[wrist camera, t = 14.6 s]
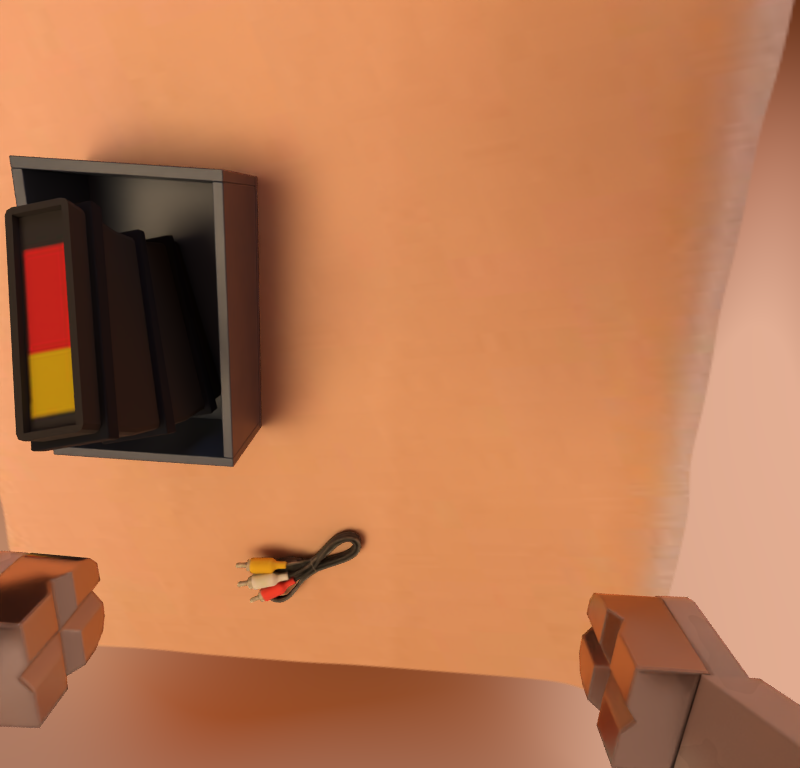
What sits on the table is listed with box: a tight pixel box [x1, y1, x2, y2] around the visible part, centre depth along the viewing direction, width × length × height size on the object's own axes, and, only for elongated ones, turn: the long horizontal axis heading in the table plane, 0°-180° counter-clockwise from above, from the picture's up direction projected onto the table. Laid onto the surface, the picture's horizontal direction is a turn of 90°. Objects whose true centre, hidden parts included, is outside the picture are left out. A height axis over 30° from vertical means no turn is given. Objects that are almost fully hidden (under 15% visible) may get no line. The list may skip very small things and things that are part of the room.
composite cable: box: [236, 532, 361, 603], centre depth 42 cm, size 10×5×2 cm, turn 106°
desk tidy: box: [9, 155, 261, 467], centre depth 34 cm, size 17×11×6 cm, turn 176°
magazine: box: [5, 198, 221, 451], centre depth 31 cm, size 4×13×15 cm, turn 10°
